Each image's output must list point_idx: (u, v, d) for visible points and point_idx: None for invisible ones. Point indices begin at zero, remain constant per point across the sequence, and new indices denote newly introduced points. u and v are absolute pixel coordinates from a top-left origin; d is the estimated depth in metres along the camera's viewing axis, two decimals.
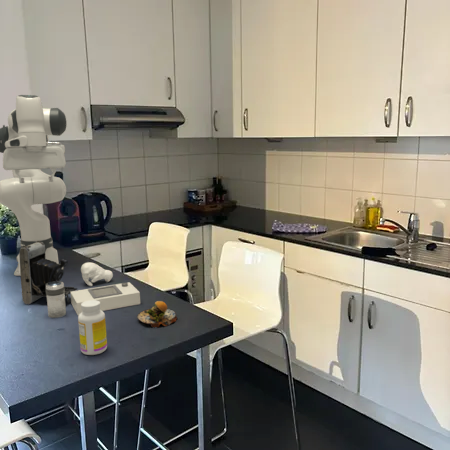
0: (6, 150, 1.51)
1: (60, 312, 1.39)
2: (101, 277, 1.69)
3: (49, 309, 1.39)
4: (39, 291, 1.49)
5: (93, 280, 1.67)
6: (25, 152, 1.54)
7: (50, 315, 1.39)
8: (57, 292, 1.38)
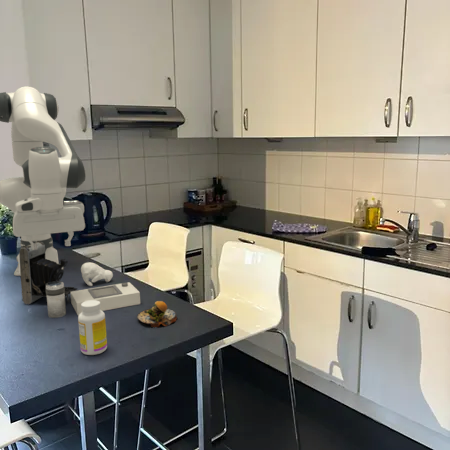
0: (17, 215, 1.29)
1: (60, 312, 1.39)
2: (101, 277, 1.69)
3: (49, 309, 1.39)
4: (39, 291, 1.49)
5: (93, 280, 1.67)
6: (39, 215, 1.32)
7: (50, 315, 1.39)
8: (57, 292, 1.38)
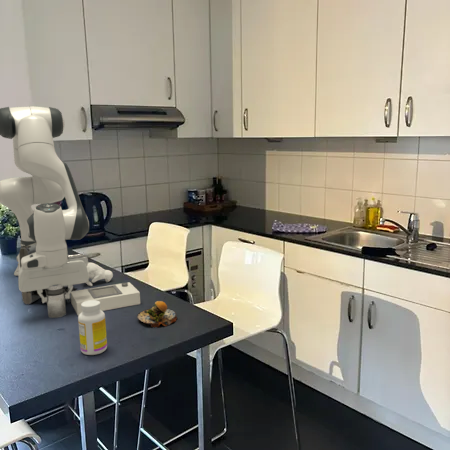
0: (23, 272, 1.32)
1: (60, 312, 1.39)
2: (101, 277, 1.69)
3: (49, 309, 1.39)
4: None
5: (93, 280, 1.67)
6: (44, 271, 1.36)
7: (50, 314, 1.39)
8: (57, 292, 1.38)
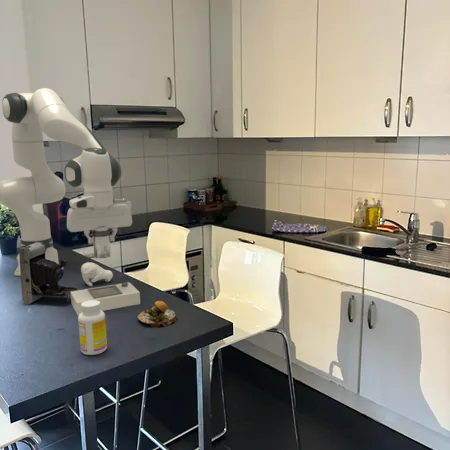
0: (72, 212, 1.38)
1: (105, 253, 1.45)
2: (101, 277, 1.69)
3: (95, 250, 1.44)
4: (39, 291, 1.49)
5: (93, 280, 1.67)
6: (91, 212, 1.41)
7: (96, 255, 1.45)
8: (103, 233, 1.43)
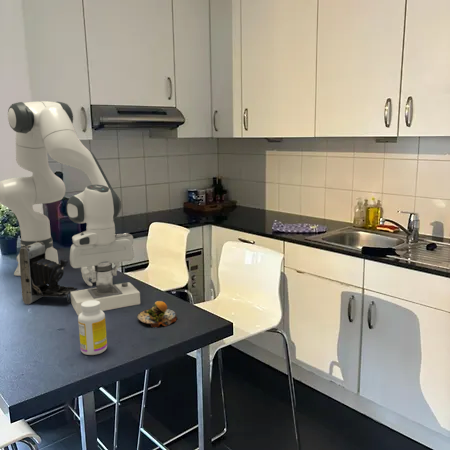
0: (75, 249, 1.40)
1: (108, 288, 1.47)
2: None
3: (98, 285, 1.47)
4: (39, 291, 1.49)
5: (93, 280, 1.67)
6: (94, 248, 1.44)
7: (98, 290, 1.47)
8: (106, 268, 1.46)
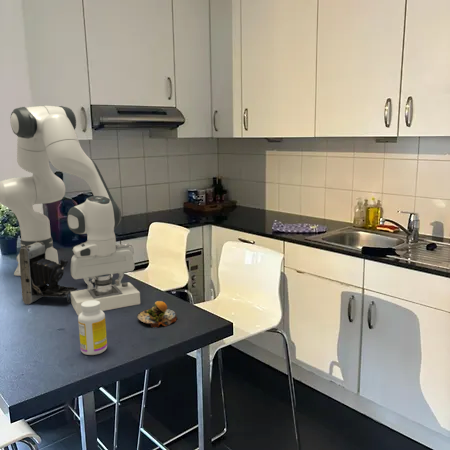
0: (76, 260, 1.41)
1: None
2: None
3: None
4: (39, 291, 1.49)
5: (93, 280, 1.67)
6: (95, 259, 1.44)
7: None
8: (106, 282, 1.46)
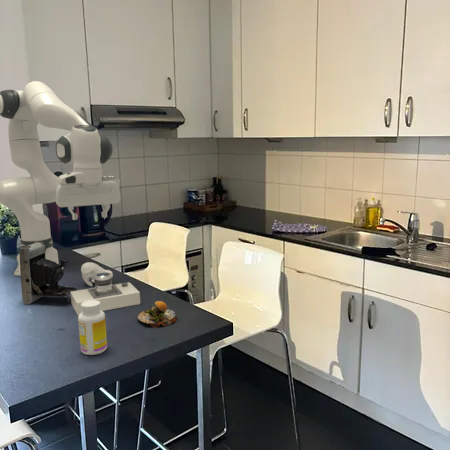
0: (61, 187, 1.41)
1: None
2: None
3: None
4: (39, 291, 1.49)
5: (93, 280, 1.67)
6: (80, 188, 1.44)
7: None
8: (106, 282, 1.46)
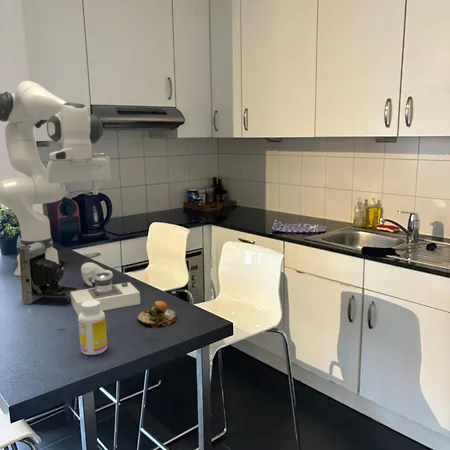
0: (52, 163, 1.43)
1: None
2: None
3: None
4: (39, 291, 1.49)
5: (93, 280, 1.67)
6: (70, 165, 1.47)
7: None
8: (106, 282, 1.46)
